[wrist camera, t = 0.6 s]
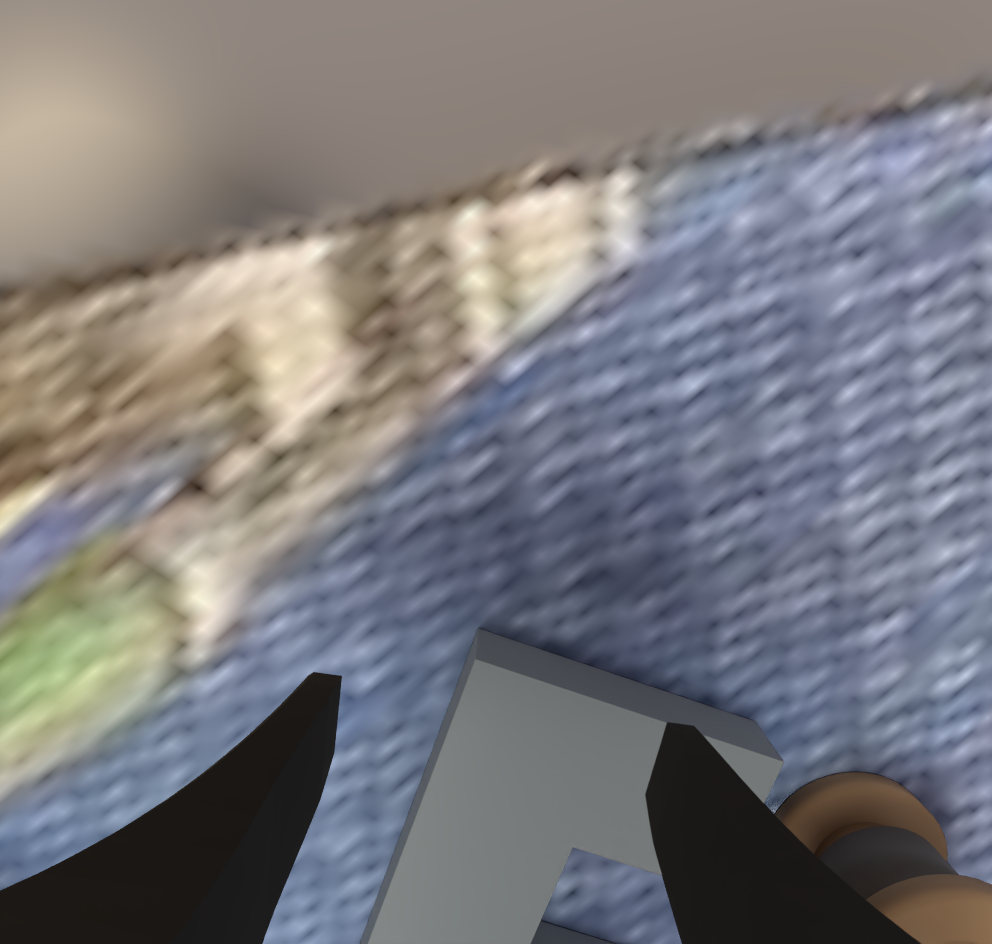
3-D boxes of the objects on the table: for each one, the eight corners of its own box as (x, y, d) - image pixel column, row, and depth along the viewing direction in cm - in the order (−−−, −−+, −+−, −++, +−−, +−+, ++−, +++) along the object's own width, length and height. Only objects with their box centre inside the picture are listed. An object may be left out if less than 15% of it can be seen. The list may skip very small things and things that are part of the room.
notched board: (594, 1055, 27) (604, 1123, 25) (345, 981, 27) (330, 1043, 24) (755, 721, 24) (784, 762, 22) (477, 628, 24) (475, 659, 21)
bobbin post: (884, 934, 26) (996, 1102, 20) (737, 887, 26) (808, 1044, 20) (959, 801, 25) (1102, 938, 19) (806, 750, 24) (903, 873, 19)
